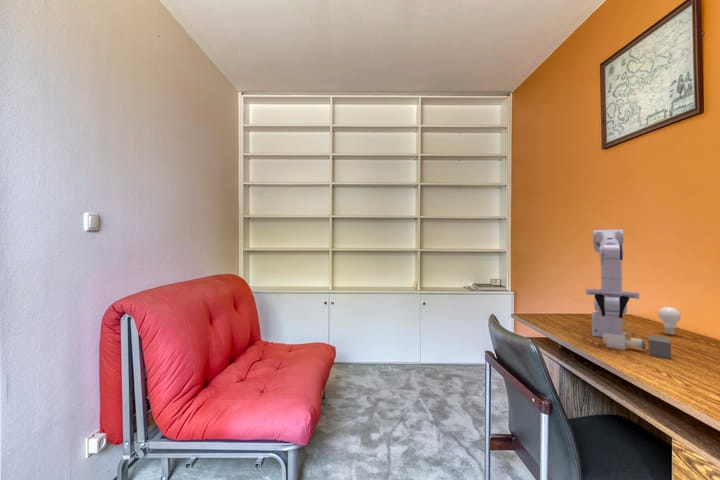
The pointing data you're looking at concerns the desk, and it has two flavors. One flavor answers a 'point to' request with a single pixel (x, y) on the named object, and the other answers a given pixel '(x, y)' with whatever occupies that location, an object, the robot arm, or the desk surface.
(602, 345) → the desk surface
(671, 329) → the lightbulb
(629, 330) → the slip tube
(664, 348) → the socket
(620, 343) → the light grey cube
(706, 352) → the desk surface
